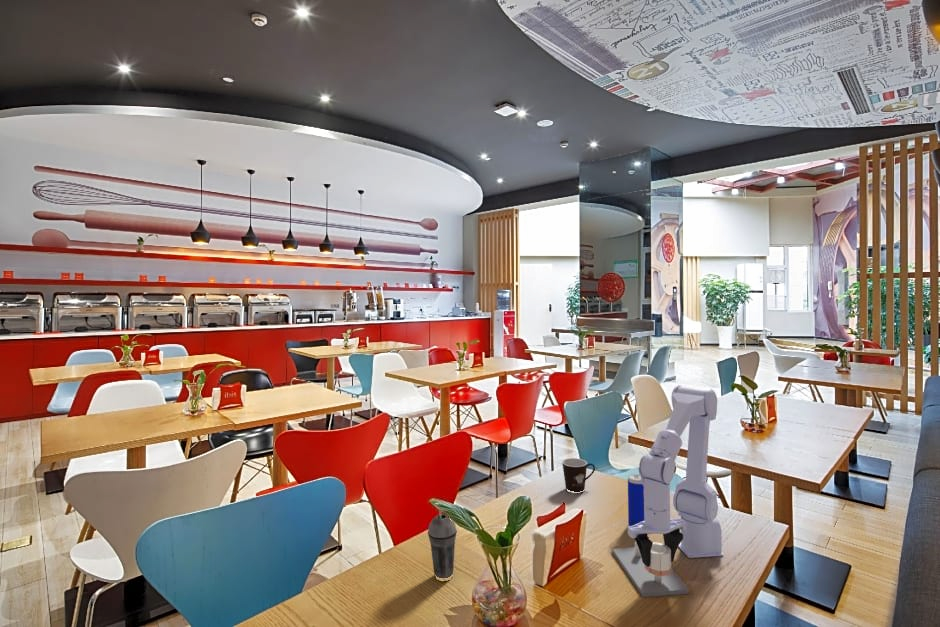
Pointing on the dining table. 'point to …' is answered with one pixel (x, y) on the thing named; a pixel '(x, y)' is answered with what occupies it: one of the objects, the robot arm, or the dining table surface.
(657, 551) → the sleeve
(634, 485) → the beverage can
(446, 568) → the beverage cup
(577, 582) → the dining table surface
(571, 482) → the coffee mug
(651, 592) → the pin board
